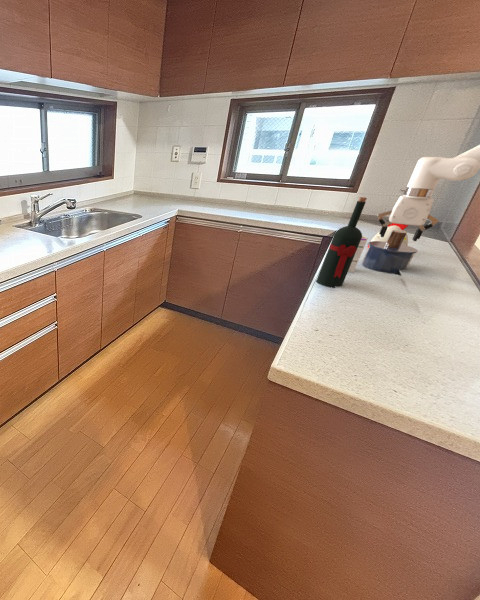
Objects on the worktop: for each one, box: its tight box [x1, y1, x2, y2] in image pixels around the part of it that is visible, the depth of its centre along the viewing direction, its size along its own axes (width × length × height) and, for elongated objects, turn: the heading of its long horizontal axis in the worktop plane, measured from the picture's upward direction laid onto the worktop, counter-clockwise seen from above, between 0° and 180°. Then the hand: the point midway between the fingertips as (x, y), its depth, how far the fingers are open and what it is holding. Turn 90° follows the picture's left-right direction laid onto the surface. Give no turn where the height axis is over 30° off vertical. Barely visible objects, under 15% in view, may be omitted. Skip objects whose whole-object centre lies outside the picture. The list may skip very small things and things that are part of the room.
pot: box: [361, 244, 416, 275], centre depth 131 cm, size 14×19×8 cm
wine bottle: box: [315, 196, 367, 289], centre depth 109 cm, size 8×10×30 cm
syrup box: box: [348, 234, 369, 273], centre depth 126 cm, size 6×6×14 cm
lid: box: [368, 230, 418, 255], centre depth 128 cm, size 15×15×7 cm
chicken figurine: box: [367, 223, 409, 249], centre depth 152 cm, size 14×14×15 cm
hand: (397, 238), depth 127 cm, fingers open, 9 cm apart
